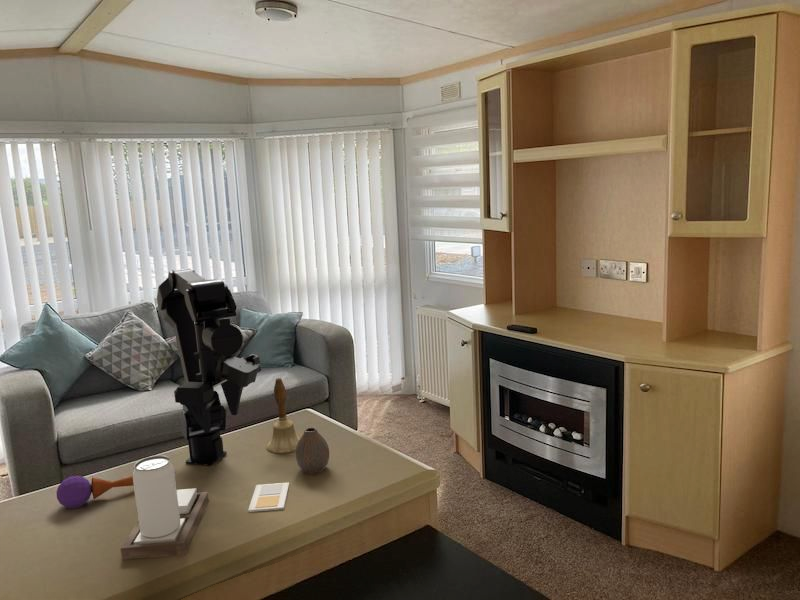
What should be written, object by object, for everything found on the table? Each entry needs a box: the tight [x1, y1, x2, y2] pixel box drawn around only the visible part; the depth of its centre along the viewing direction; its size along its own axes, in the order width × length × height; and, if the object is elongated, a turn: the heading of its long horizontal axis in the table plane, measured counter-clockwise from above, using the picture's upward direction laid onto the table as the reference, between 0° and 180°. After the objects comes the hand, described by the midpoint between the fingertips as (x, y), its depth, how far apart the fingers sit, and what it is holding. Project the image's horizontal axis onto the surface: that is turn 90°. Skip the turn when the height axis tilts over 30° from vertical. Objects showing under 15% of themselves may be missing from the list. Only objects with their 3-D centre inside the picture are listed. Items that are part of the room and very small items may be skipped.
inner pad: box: [176, 488, 198, 515], centre depth 118 cm, size 7×7×2 cm
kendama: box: [56, 475, 134, 509], centre depth 128 cm, size 6×6×20 cm
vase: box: [295, 427, 330, 475], centre depth 134 cm, size 7×7×9 cm
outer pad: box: [134, 518, 186, 545], centre depth 110 cm, size 7×7×2 cm
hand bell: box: [266, 377, 301, 454], centre depth 146 cm, size 8×8×16 cm
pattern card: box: [247, 481, 290, 513], centre depth 124 cm, size 10×6×1 cm, turn 4°
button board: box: [120, 491, 210, 560], centre depth 114 cm, size 18×10×2 cm, turn 4°
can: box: [132, 455, 181, 538], centre depth 109 cm, size 6×6×12 cm
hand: (221, 423), depth 127 cm, fingers open, 9 cm apart
